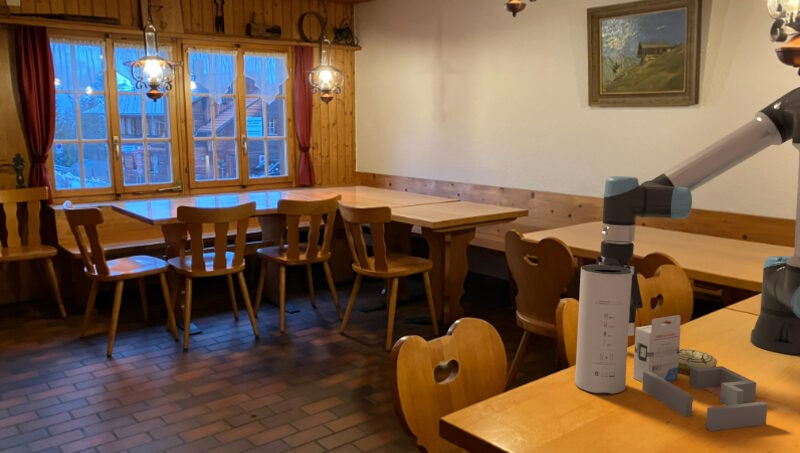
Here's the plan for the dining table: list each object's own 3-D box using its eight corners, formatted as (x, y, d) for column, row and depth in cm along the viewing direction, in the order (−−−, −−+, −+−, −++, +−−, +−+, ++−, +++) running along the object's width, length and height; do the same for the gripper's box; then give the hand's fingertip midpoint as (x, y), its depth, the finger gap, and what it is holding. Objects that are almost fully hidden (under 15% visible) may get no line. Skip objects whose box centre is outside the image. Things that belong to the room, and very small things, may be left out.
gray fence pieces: (717, 382, 149) (718, 364, 148) (792, 421, 129) (794, 401, 129) (642, 389, 144) (643, 371, 144) (708, 431, 125) (709, 410, 124)
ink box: (661, 372, 155) (665, 309, 153) (678, 380, 150) (682, 314, 148) (632, 378, 151) (635, 313, 149) (648, 385, 147) (652, 319, 145)
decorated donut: (710, 381, 150) (712, 364, 150) (660, 371, 156) (661, 355, 156) (720, 367, 159) (721, 351, 158) (671, 358, 165) (672, 343, 164)
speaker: (626, 380, 150) (632, 263, 146) (626, 398, 140) (633, 273, 136) (576, 375, 153) (580, 260, 149) (573, 392, 143) (578, 270, 140)
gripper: (577, 233, 175) (573, 314, 178) (633, 250, 151) (626, 343, 154) (604, 232, 177) (599, 312, 180) (663, 250, 153) (656, 341, 156)
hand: (611, 327), depth 167 cm, fingers open, 13 cm apart
